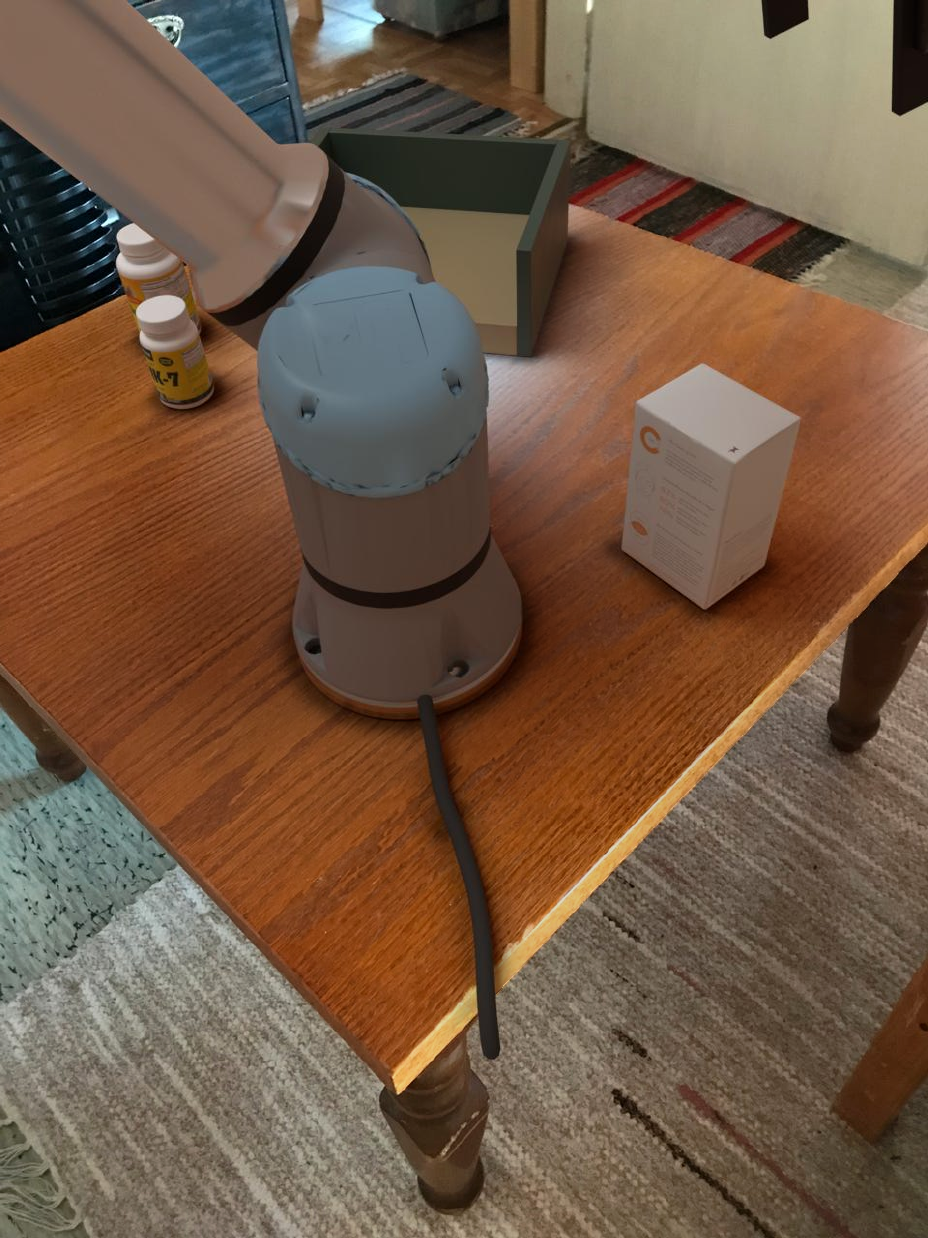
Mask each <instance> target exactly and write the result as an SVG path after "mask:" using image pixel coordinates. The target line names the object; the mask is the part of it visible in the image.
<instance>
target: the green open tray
mask: <svg viewBox="0 0 928 1238" xmlns="http://www.w3.org/2000/svg"><path fill="white" fill-rule="evenodd" d="M308 143H311V144H314V145H316V146H317V147H318V148H320V149H321V150H322V151H324V152H325V153H326V154H327V155H328V156H329V157H330V158H331V159H332V160H333V161H334V162H335V163H336V164H337V165H338V166H339V167H340V168H341V169H342V170H343V171H344V172H345V173H349V174H353V175H356V176H359V177H361V178H363V179H366V180H368V181H370V182H371V183H373V184H375V185H377V186H378V187H380V188H381V189H382V190H384V191H385V192H386V193H387V194H388V195H389V196H391V197H392V198H393V199H394V200H395V201H396V203H397V204H398V205H399V206H400V207H401V208H402V209H403V210H404V211H405V213H406V214H407V215H408V216H409V218H410V219H411V221H412V222H413V223H414V225H415V227H416V228H417V230H418V232H419V234H420V239H421V240H422V241H423V242H424V245H425V247H426V250H427V253H428V256H429V260H430V264H431V269H432V273H433V276H434V279H435V281H436V283H438V284H440V285H442V286H443V287H445V288H446V289H448V290H449V291H450V292H451V293H453V294H454V295H455V296H456V297H457V298H458V299H459V300H460V302H461V303H462V304H463V305H464V306H465V307H466V309H467V310H468V312H469V313H470V315H471V317H472V319H473V321H474V322H475V325H476V327H477V330H478V333H479V336H480V340H481V345H482V351H483V354H486V353H487V354H495V355H496V354H497V355H507V356H518V357H527V358H531V357H532V354H533V351H534V348H535V345H536V342H537V337H538V334H539V332H540V329H541V327H542V326H541V325H542V323H543V320H544V316H545V313H546V310H547V307H548V304H549V301H550V298H551V295H552V292H553V289H554V285H555V282H556V279H557V275H558V272H559V270H560V266H561V263H562V260H563V256H564V254H565V250H566V248H567V245H568V241H569V214H570V213H569V209H570V208H569V206H570V178H571V176H570V175H571V149H572V148H571V147H572V140H571V139H557V138H556V139H555V138H537V137H533V138H532V137H518V136H499V135H479V134H461V133H460V134H458V133H457V134H454V133H442V132H441V133H440V132H420V131H402V130H385V129H384V130H381V129H364V128H363V129H362V128H361V129H360V128H346V127H345V128H344V127H343V128H342V127H322V126H321V127H319V128H318V130H317V131H316V133H315V134H314V135H313V136H312V138H311V139H310V141H309V142H308Z"/></svg>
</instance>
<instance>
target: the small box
mask: <svg viewBox="0 0 928 1238" xmlns="http://www.w3.org/2000/svg"><path fill="white" fill-rule="evenodd" d="M801 421H802V417H801V416H800V415H797V414H795V413H793V412H791V411H790V410H788V409H786V408H785V407H783V406H780V405H779V404H777V403H775V402H774V401H772V400H770V399H768V398H766V397H765V396H763V395H761V394H759V393H757V392H756V391H754V390H752V389H750V388H749V387H747V386H745V385H744V384H741V383H740V382H738V381H736V380H734V379H733V378H731V377H730V376H727V375H726V374H724V373H722V372H720V371H718V370H716V369H715V368H713V367H711V366H709V365H707V364H705V363H704V362H702V363H700V364H698V365H696V366H694V367H693V368H691V369H689V370H688V371H686V372H683V374H680V375H679V376H677V377H676V378H674V379H672V380H670V381H669V382H667V383H666V384H664V385H662V386H661V387H659V388H657V389H655V390H653V391H652V392H650V393H648V394H646V395H645V396H643V397H641V398H639V399H638V400H636V401H635V407H634V419H633V429H632V438H631V439H632V440H631V447H630V449H631V450H630V457H629V469H628V480H627V489H626V497H625V507H624V517H623V518H624V519H623V527H622V528H623V529H622V537H621V539H622V540H621V550H622V552H624V553H625V554H627V555H628V556H630V557H631V558H632V559H634V560H635V561H636V562H638V563H639V564H641V565H642V566H643V567H644V568H646V569H647V570H649V571H650V572H652V573H653V574H654V575H656V576H657V577H658V578H660V579H661V580H662V581H664V582H665V583H667V584H668V585H669V586H671V587H672V588H674V589H675V590H676V591H678V592H679V593H681V594H682V595H683V596H684V597H686V598H687V599H689V600H690V601H691V602H693V603H694V604H695V605H696V606H698V607H700V608H701V609H702V610H704V611H705V610H707V609H708V608H710V607H712V605H714V604H715V603H717V602H718V601H719V600H721V599H722V598H723V597H725V596H726V595H727V594H729V593H730V592H732V591H733V590H734V589H735V588H737V587H738V586H739V585H741V584H742V583H743V582H745V581H746V580H748V578H750V577H752V576H753V575H754V574H756V573H757V572H758V571H759V570H761V569H762V568H763V567H765V564H766V561H767V557H768V553H769V549H770V545H771V541H772V537H773V533H774V529H775V525H776V521H777V518H778V514H779V510H780V506H781V501H782V496H783V493H784V490H785V485H786V482H787V477H788V473H789V469H790V466H791V463H792V457H793V453H794V449H795V445H796V441H797V438H798V433H799V429H800V425H801Z"/></svg>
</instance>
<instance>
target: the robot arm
mask: <svg viewBox="0 0 928 1238" xmlns="http://www.w3.org/2000/svg"><path fill="white" fill-rule="evenodd" d="M760 2H761V12H762V23H763V24H762V27H763V36H764V37H765V38H767V39H769V40H772V39H774V38H775V37H777V36H779V35H781V34H783V33H786V32H787V31H789V30H792V29H794V28H795V27H797V26H799V25H801V24H803V23H805V22H807V21H809V20H810V11H809V8H810V7H809V0H760ZM892 3H893V8H892V9H893V10H892V58H891V60H892V61H891V62H892V63H891V67H892V68H891V73H892V74H891V112H892V113H893V114H895V115H896V116H898V117H902V116H904V115H905V114H907V113H909V112H912V111H913V110H915V109H917V108H919V107H922V106H923V105H925V104H928V0H893V2H892ZM0 120H1V121H2V122H3V123H5V124H6V126H9V128H11V129H12V130H13V131H15V132H16V133H17V134H19V135H20V136H21V137H23V138H24V139H25V140H27V142H29V143H31V144H32V145H33V146H34V147H36V148H37V150H40V151H41V152H42V153H43V154H44V155H46V156H47V157H48V158H50V159H51V160H52V161H53V162H55V163H56V164H58V165H59V166H60V167H61V168H62V169H64V170H65V171H66V172H68V174H70V175H72V176H73V177H74V178H75V179H77V180H78V181H79V182H80V183H82V184H83V185H84V186H86V187H87V188H88V189H89V190H91V191H92V192H93V193H95V194H96V195H97V196H98V197H100V198H101V199H102V200H103V201H104V202H106V203H107V204H109V205H110V206H111V207H112V208H114V209H115V210H116V211H117V212H119V214H122V216H124V217H125V218H126V219H128V220H129V221H130V222H131V223H132V224H133V223H134V224H136V225H137V226H138V227H139V228H141V229H142V230H143V231H145V232H146V233H147V234H148V235H150V236H151V237H152V238H154V239H155V240H156V241H157V242H159V243H160V244H161V245H162V246H164V247H165V248H166V249H168V250H169V251H170V252H171V253H173V254H174V255H175V256H177V257H178V258H179V259H180V260H182V261H183V264H186V267H187V269H188V271H189V279H190V287H191V292H192V295H193V299H194V302H195V305H197V306H198V308H200V309H201V310H202V311H204V312H205V313H207V314H208V315H209V316H210V317H212V318H213V319H214V320H216V321H217V322H218V323H220V324H221V325H222V326H223V327H224V328H226V329H228V330H229V331H230V332H231V333H233V334H234V335H235V336H236V337H238V338H240V340H242V341H243V342H245V343H246V344H248V345H249V346H250V347H251V348H252V349H254V350H255V351H256V354H257V355H256V367H257V368H256V369H257V377H256V378H257V379H256V381H257V394H258V401H259V406H260V410H261V414H262V417H263V420H264V423H265V425H266V427H267V428H268V430H269V431H270V434H271V436H272V440H273V444H274V449H275V454H276V456H277V457H276V458H277V461H278V464H279V469H280V472H281V476H282V480H283V484H284V489H285V492H286V497H287V500H288V504H289V508H290V512H291V517H292V521H293V524H294V527H295V532H296V536H297V541H298V543H299V547H300V548H299V549H300V552H301V556H302V565H301V568H300V575H299V579H298V583H297V589H296V595H295V600H294V605H293V609H292V616H291V617H292V618H291V628H292V636H293V641H294V643H295V647H296V651H297V655H298V658H299V661H300V663H301V666H302V669H303V670H304V672H305V674H306V676H307V677H308V678H309V680H310V681H311V683H312V684H313V685H314V686H315V687H316V688H317V689H318V690H319V691H320V692H321V694H323V695H324V696H326V697H327V698H328V699H330V700H331V701H333V702H334V703H335V704H338V705H340V706H341V707H343V708H345V709H347V710H350V711H352V712H355V713H358V714H361V715H365V716H369V717H374V718H379V719H386V720H413V719H414V720H415V719H420V724H421V730H422V736H423V740H424V741H423V742H424V746H425V752H426V758H427V766H428V771H429V777H430V781H431V786H432V790H433V795H434V798H435V801H436V804H437V807H438V810H439V812H440V815H441V818H442V820H443V823H444V825H445V828H446V830H447V833H448V835H449V839H450V842H451V844H452V847H453V850H454V853H455V856H456V860H457V863H458V867H459V870H460V873H461V874H460V875H461V877H462V880H463V884H464V888H465V892H466V896H467V902H468V907H469V913H470V919H471V927H472V934H473V935H472V937H473V945H474V966H475V991H476V1008H477V1019H478V1020H477V1021H478V1030H479V1031H478V1032H479V1040H480V1047H481V1052H482V1056H483V1057H485V1058H486V1059H487V1060H488V1061H489V1060H490V1061H495V1060H496V1059H497V1058H498V1057H500V1053H501V1050H502V1049H501V1048H502V1047H501V1041H500V1033H499V1024H498V1023H499V1022H498V1015H497V1014H498V1011H497V999H496V998H497V997H496V982H495V981H496V980H495V963H494V947H493V946H494V945H493V936H492V927H491V920H490V914H489V909H488V904H487V898H486V893H485V889H484V884H483V880H482V877H481V873H480V871H479V867H478V865H477V864H478V863H477V861H476V857H475V854H474V850H473V848H472V845H471V842H470V840H469V836H468V833H467V831H466V828H465V826H464V824H463V823H464V822H463V821H462V817H461V816H460V814H459V811H458V809H457V806H456V803H455V800H454V798H453V794H452V792H451V791H452V790H451V788H450V785H449V780H448V776H447V770H446V766H445V759H444V754H443V753H444V752H443V747H442V741H441V737H440V730H439V726H438V720H437V716H438V715H441V714H444V713H448V712H450V711H453V710H456V709H458V708H460V707H463V706H465V705H467V704H469V703H471V702H472V701H475V699H477V698H479V697H480V696H482V695H483V694H485V693H486V692H487V691H488V690H490V689H491V688H493V686H494V685H495V684H496V683H497V682H498V681H499V680H501V678H502V677H504V675H505V673H507V671H508V669H509V668H510V666H511V664H512V663H513V662H514V660H515V657H516V655H517V653H518V650H519V647H520V644H521V640H522V634H523V605H522V604H523V603H522V596H521V591H520V589H519V585H518V583H517V581H516V579H515V577H514V575H513V573H512V571H511V569H510V567H509V566H508V563H507V562H506V559H505V557H504V555H503V554H502V551H501V550H500V548H499V546H498V544H497V541H496V540H495V538H494V536H493V534H492V524H491V523H492V522H491V521H492V520H491V519H492V516H491V514H492V513H491V491H490V490H491V487H490V466H489V465H490V464H489V437H488V436H489V434H488V411H487V410H488V409H487V408H488V407H489V401H490V390H489V387H490V385H489V381H490V378H489V373H488V366H487V361H486V357H485V353H484V352H483V351H482V345H481V340H480V336H479V333H478V330H477V327H476V325H475V322H474V321H473V319H472V317H471V315H470V313H469V312H468V310H467V309H466V307H465V306H464V305H463V304H462V303H461V302H460V300H459V299H458V298H457V297H456V296H455V295H454V294H453V293H451V292H450V291H449V290H448V289H446V288H445V287H443V286H442V285H440V284H438V283H436V281H435V279H434V276H433V273H432V269H431V264H430V260H429V256H428V253H427V250H426V247H425V245H424V242H423V241H422V240H421V239H420V234H419V232H418V230H417V228H416V227H415V225H414V223H413V222H412V221H411V219H410V218H409V216H408V215H407V214H406V213H405V211H404V210H403V209H402V208H401V207H400V206H399V205H398V204H397V203H396V201H395V200H394V199H393V198H392V197H391V196H389V195H388V194H387V193H386V192H385V191H384V190H382V189H381V188H380V187H378V186H377V185H375V184H373V183H371V182H370V181H368V180H366V179H363V178H361V177H359V176H356V175H353V174H349V173H345V172H344V171H343V170H342V169H341V168H340V167H339V166H338V165H337V164H336V163H335V162H334V161H333V160H332V159H331V158H330V157H329V156H328V155H327V154H326V153H325V152H324V151H322V150H321V149H320V148H318V147H317V146H316V145H314V144H311V143H309V142H298V143H297V142H296V143H283V144H282V143H281V144H279V143H277V142H276V141H274V139H272V138H271V137H270V135H268V134H267V133H266V132H265V131H264V130H263V129H262V128H261V127H260V126H259V125H258V124H257V123H256V122H255V121H254V120H253V119H251V117H249V116H248V114H246V113H245V112H244V111H243V110H242V109H241V108H240V107H239V106H238V105H236V103H235V102H234V101H232V99H230V97H229V96H227V95H226V94H225V93H224V92H223V91H222V90H221V89H220V88H219V87H218V86H217V85H216V84H215V83H214V82H213V81H212V80H211V79H210V78H208V77H207V76H206V75H205V74H204V72H202V71H201V70H200V69H199V67H197V66H196V65H195V64H194V63H193V62H192V61H191V60H189V58H187V56H186V55H184V54H183V53H182V52H181V50H179V49H178V48H177V47H176V46H175V45H174V44H173V43H172V42H171V41H170V40H168V39H167V38H166V37H165V36H164V35H163V33H161V32H160V31H159V30H158V29H157V28H156V27H155V26H154V25H153V24H152V23H151V22H149V20H147V18H145V16H143V15H142V14H141V13H140V12H139V11H138V10H137V9H136V8H135V7H134V6H133V5H132V4H131V3H129V2H128V0H0Z"/></svg>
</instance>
